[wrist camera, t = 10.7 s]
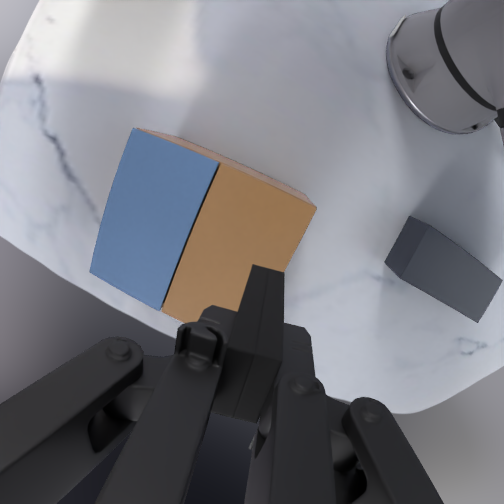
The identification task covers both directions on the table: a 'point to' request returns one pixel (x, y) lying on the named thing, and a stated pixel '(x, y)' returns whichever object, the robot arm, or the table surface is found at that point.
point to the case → (442, 269)
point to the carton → (233, 236)
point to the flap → (150, 215)
